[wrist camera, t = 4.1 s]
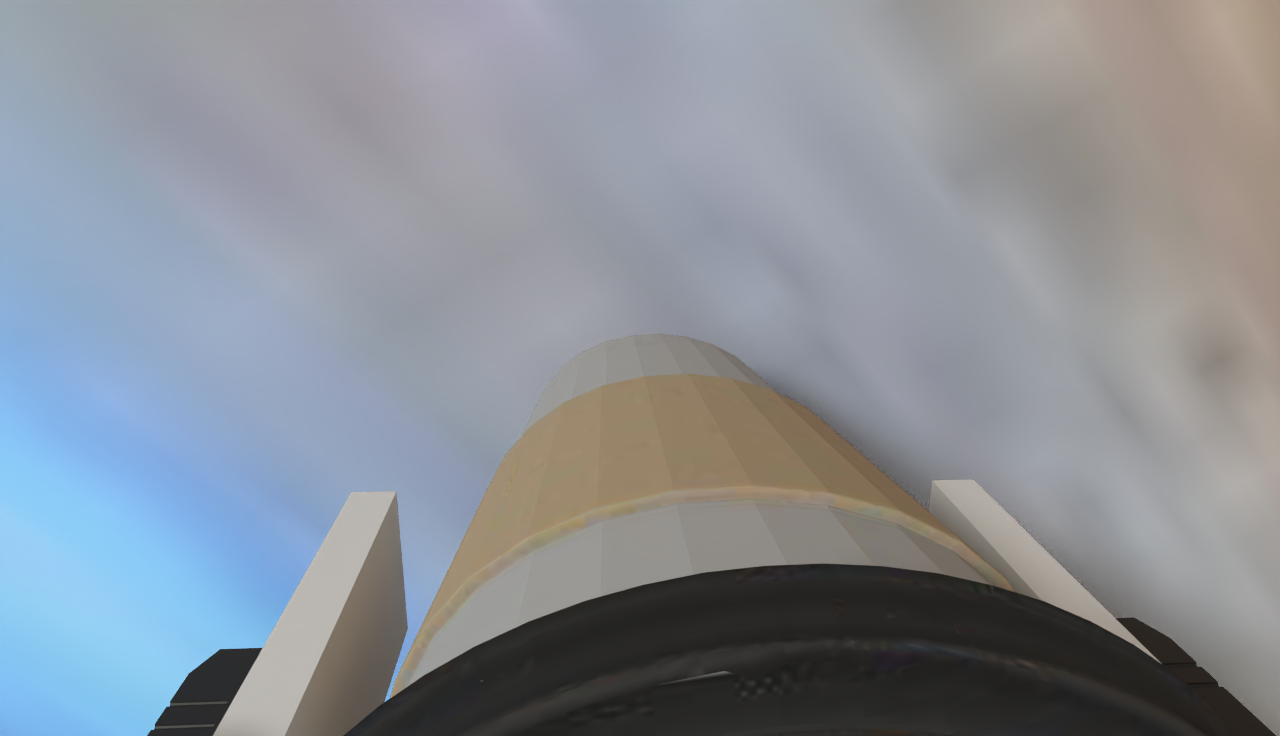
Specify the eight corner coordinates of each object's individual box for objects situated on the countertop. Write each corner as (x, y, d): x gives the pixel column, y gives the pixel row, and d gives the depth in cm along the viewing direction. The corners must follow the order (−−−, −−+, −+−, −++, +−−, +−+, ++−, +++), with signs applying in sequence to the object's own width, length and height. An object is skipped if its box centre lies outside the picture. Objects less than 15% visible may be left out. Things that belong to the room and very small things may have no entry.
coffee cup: (901, 543, 21) (1586, 1495, 7) (545, 684, 22) (480, 1845, 7) (771, 177, 18) (1479, 488, 4) (364, 350, 19) (-333, 1185, 4)
